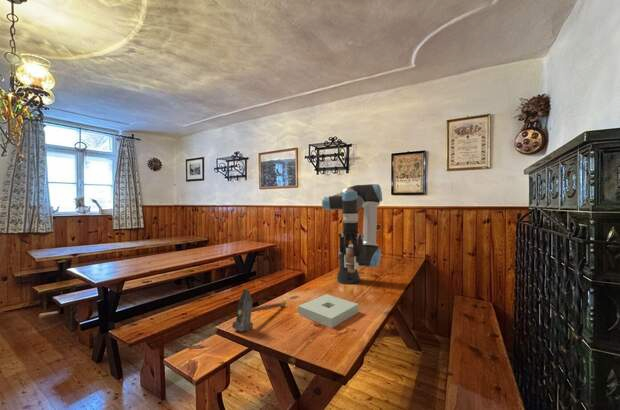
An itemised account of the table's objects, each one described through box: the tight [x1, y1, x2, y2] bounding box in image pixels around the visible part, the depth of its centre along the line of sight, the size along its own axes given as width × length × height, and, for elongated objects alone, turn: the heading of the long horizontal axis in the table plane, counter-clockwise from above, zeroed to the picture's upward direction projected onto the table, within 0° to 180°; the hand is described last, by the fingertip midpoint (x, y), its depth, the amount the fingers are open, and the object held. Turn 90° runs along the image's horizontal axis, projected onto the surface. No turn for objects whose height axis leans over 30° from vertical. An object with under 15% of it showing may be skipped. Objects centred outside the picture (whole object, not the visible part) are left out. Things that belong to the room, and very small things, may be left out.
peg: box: [346, 247, 355, 273], centre depth 130 cm, size 5×5×12 cm
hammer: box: [232, 288, 287, 332], centre depth 119 cm, size 6×16×30 cm
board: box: [297, 293, 359, 329], centre depth 121 cm, size 20×20×4 cm
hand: (351, 267), depth 130 cm, fingers closed on peg, 5 cm apart
